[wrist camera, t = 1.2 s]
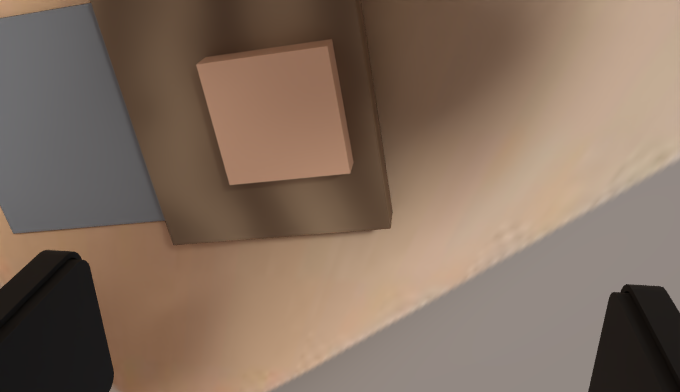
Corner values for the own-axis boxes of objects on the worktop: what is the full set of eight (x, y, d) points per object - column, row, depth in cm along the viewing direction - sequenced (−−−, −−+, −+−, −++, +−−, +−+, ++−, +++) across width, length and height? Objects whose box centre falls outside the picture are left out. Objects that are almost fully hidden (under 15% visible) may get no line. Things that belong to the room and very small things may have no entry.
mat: (101, 0, 34) (98, 2, 34) (173, 216, 40) (171, 219, 40) (-77, 31, 37) (-82, 32, 36) (16, 230, 43) (13, 233, 42)
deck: (351, -63, 31) (346, -59, 29) (392, 212, 38) (390, 228, 36) (104, -19, 34) (85, -14, 32) (184, 229, 41) (173, 245, 39)
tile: (331, 39, 31) (327, 45, 30) (353, 162, 34) (350, 173, 33) (205, 57, 33) (195, 64, 31) (237, 173, 36) (229, 185, 34)
